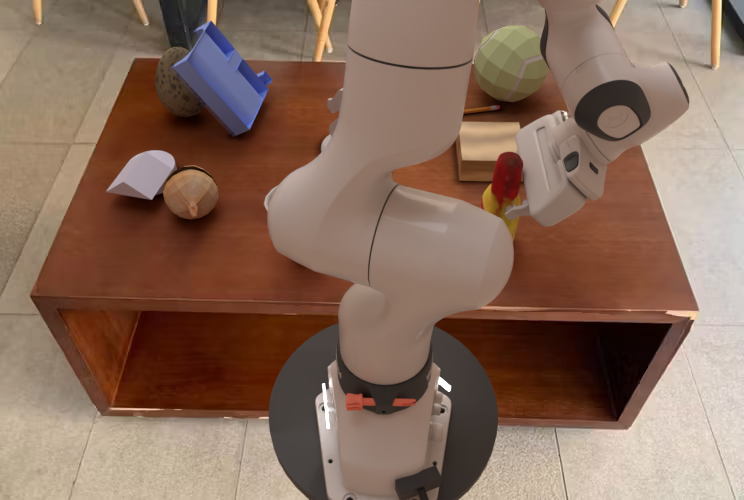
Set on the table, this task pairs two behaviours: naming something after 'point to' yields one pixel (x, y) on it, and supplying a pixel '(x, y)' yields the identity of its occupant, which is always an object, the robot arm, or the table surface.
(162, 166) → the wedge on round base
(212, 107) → the blue plastic box
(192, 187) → the acorn
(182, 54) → the decorative egg
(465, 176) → the birch block
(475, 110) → the pencil
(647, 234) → the table surface
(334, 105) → the chess piece
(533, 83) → the decorative sphere
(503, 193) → the bottle
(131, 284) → the table surface
